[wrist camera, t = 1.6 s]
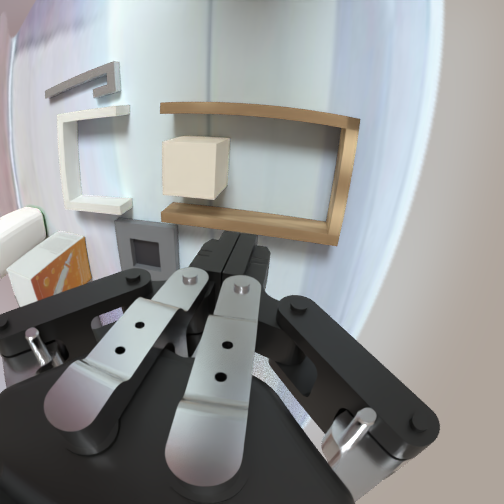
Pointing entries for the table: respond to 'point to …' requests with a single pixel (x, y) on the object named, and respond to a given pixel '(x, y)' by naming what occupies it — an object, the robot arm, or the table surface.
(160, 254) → the hole frame
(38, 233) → the white rounded prism
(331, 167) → the table surface
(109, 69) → the crook tool
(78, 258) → the small box
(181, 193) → the cream cube
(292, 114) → the wooden u-shaped frame
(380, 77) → the table surface
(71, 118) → the cream bay
